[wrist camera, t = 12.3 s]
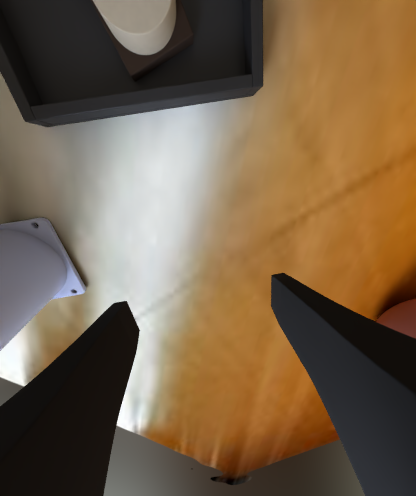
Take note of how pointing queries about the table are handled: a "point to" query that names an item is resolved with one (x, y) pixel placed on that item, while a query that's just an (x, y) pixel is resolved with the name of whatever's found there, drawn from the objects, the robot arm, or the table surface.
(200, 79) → the tray
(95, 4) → the red-based arched block
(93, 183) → the table surface
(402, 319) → the balloon
